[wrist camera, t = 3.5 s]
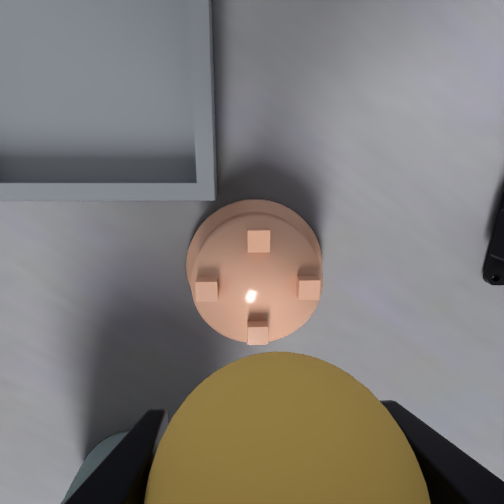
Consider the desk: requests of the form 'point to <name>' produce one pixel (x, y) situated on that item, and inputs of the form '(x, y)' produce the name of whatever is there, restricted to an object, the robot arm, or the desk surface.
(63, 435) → the desk surface
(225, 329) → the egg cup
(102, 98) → the tray
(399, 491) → the ball
